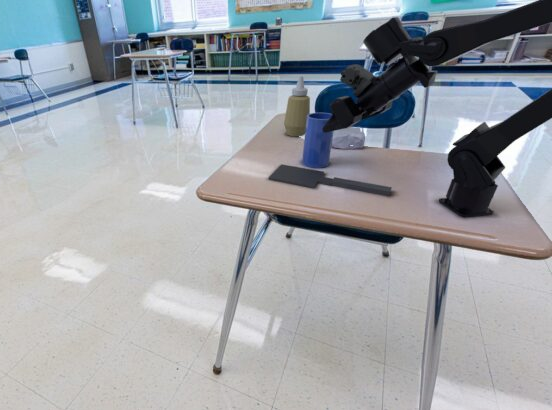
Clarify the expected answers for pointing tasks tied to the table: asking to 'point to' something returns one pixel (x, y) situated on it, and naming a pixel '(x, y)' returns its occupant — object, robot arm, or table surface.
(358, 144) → the stone block
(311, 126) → the cup
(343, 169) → the table surface
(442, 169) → the table surface
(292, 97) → the squeeze bottle
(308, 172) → the spatula
